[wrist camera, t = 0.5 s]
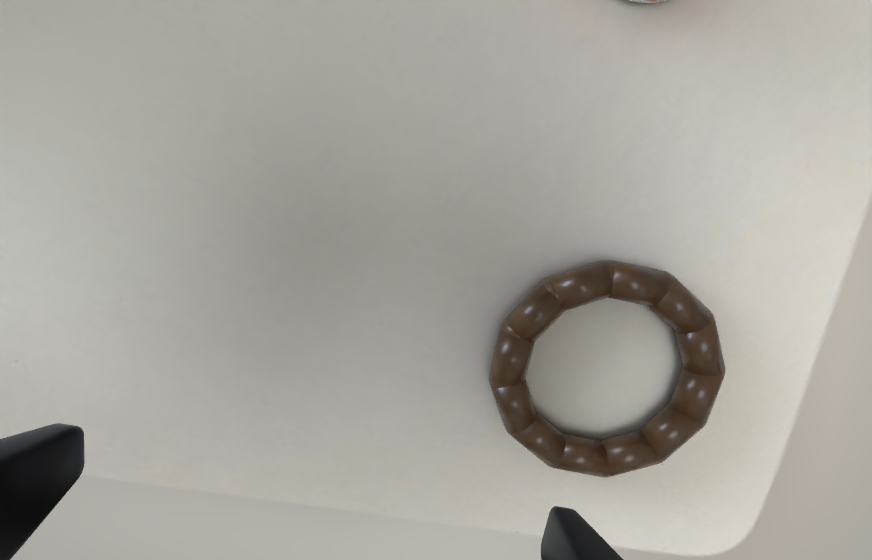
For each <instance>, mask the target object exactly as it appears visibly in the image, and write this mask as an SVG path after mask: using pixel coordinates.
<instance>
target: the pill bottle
mask: <svg viewBox="0 0 872 560" xmlns="http://www.w3.org/2000/svg"><path fill="white" fill-rule="evenodd" d="M629 1H633V2H640V3H656V2H662V1H667V0H629Z"/></svg>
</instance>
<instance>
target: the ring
mask: <svg viewBox="0 0 872 560" xmlns="http://www.w3.org/2000/svg"><path fill="white" fill-rule="evenodd" d="M604 298H613V299H618V300H623V301H628V302H633V303H638V304H643V305H648V306H649V307H650V308H651V309H652V310H653V311H654V312H656V313H657V314H658V315H659V316H660V317H661V318H662V319H663V320H664V321H665V322H666V323H667V324H669V325H670V326H671V327H672V328H673V329H674V330H675V333H676V337H677V342H678V346H679V350H680V354H681V359H682V363H683V368H682V370H681V373H680V376H679V379H678V382H677V385H676V387H675V390H674V393H673V396H672V399H671V402H670V403H669V404H668V405H667V406H666V407H664V408H663V409H662V410H661V411H660V412H659V413H658V414H657V415H656V416H654V417H653V418H652V419H651V420H650V421H649V422H648V423H647V424H645V425H644V426H643V427H642V428H641V429H640V430H637V431H633V432H630V433H626V434H623V435H619V436H616V437H612V438H608V439H605V440H601V441H598V440H593V439H587V438H582V437H577V436H572V435H566V434H562V433H561V432H560V431H558V430H557V429H556V428H555V427H554V426H552V425H551V424H550V423H549V422H548V421H546V420H545V419H544V418H543V417H542V416H540V415H539V414H538V413H537V412H536V411H535V408H534V405H533V402H532V399H531V396H530V393H529V390H528V387H527V384H526V380H525V376H526V373H527V369H528V365H529V361H530V357H531V354H532V350H533V346H534V342H535V341H536V340H537V339H538V338H539V337H540V336H541V335H542V334H543V333H544V332H545V331H546V330H547V329H548V328H549V327H550V326H551V325H552V324H553V323H554V321H555V320H556V319H557V318H558V317H559V316H560V315H561V314H562V313H563V312H564V311H566V310H569V309H572V308H576V307H579V306H582V305H585V304H588V303H592V302H595V301H598V300H601V299H604ZM724 375H725V364H724V360H723V355H722V350H721V346H720V341H719V336H718V332H717V327H716V322H715V318H714V316H713V314H712V313H711V311H710V310H709V309H708V308H707V307H705V306H704V305H703V304H702V303H701V302H700V301H699V300H698V299H697V298H696V297H695V296H694V295H693V294H692V293H691V292H690V291H689V290H687V289H686V288H685V287H684V286H683V285H682V284H681V283H680V282H679V281H678V280H677V279H676V278H675V277H674V276H672V275H671V274H670V273H668V272H666V271H662V270H657V269H652V268H647V267H642V266H637V265H632V264H626V263H621V262H616V261H611V260H602V261H598V262H595V263H592V264H589V265H586V266H583V267H580V268H577V269H573V270H570V271H567V272H564V273H561V274H558V275H555V276H552V277H549V278H546V279H544V280H543V281H542V282H541V283H540V284H539V285H538V286H537V287H536V288H535V289H534V290H533V291H532V292H531V293H530V294H529V295H528V296H527V297H526V298H525V299H524V300H523V301H522V302H521V303H520V304H519V306H518V307H517V308H516V309H515V310H514V311H513V312H512V313H511V314H510V315H509V316H508V317H507V318H506V319H505V320H504V322H503V323H502V325H501V328H500V332H499V336H498V341H497V345H496V349H495V353H494V357H493V361H492V365H491V370H490V374H489V382H490V385H491V388H492V391H493V394H494V397H495V400H496V403H497V406H498V409H499V412H500V414H501V417H502V420H503V423H504V426H505V428H506V430H507V432H508V433H509V434H510V435H511V436H512V437H513V438H515V439H516V440H517V441H518V442H520V443H521V444H522V445H523V446H525V447H526V448H527V449H528V450H529V451H531V452H532V453H533V454H534V455H536V456H537V457H538V458H539V459H540V460H542V461H543V462H544V463H545V464H547V465H548V466H550V467H552V468H557V469H562V470H567V471H573V472H578V473H583V474H588V475H594V476H599V477H611V476H615V475H619V474H622V473H626V472H630V471H633V470H637V469H641V468H644V467H648V466H652V465H655V464H659V463H662V462H663V461H665V460H666V459H667V458H668V457H669V456H670V455H672V454H673V453H674V452H675V451H676V450H677V449H678V448H680V447H681V446H682V445H683V444H684V443H685V442H687V441H688V440H689V439H690V438H691V437H692V436H693V435H695V434H696V433H697V432H698V431H699V430H700V429H702V428H703V427H704V426H705V424H706V423H707V420H708V418H709V415H710V412H711V410H712V407H713V404H714V402H715V399H716V397H717V394H718V391H719V389H720V386H721V383H722V381H723V378H724Z"/></svg>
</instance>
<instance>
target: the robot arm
mask: <svg viewBox="0 0 872 560" xmlns="http://www.w3.org/2000/svg"><path fill="white" fill-rule="evenodd" d="M83 468H84V432H83V430H82V429H81V428H80V427H78V426H73V425H67V424H60V423H59V424H52V425H49V426H45V427H42V428H38V429H35V430H31V431H28V432H24V433H21V434H17V435H14V436H10V437H7V438H3V439H0V560H10V559H11V558H12V557H13V555H14V554H15V553H16V552H17V551H18V550H19V549H20V548H21V546H22V545H23V544H24V543H25V542H26V541H27V539H28V538H29V537H30V536H31V535H32V533H33V532H34V531H35V530H36V529H37V527H38V526H39V525H40V524H41V523H42V521H43V520H44V519H45V518H46V517H47V515H48V514H49V513H50V512H51V511H52V509H53V508H54V507H55V506H56V505H57V503H58V502H59V501H60V500H61V499H62V497H63V496H64V495H65V494H66V493H67V491H68V490H69V489H70V488H71V487H72V485H73V484H74V483H75V482H76V480H77V479H78V478H79V477H80V475H81V473H82V471H83ZM541 559H542V560H623V559H622V558H621V557H620V556H619V555H618V554H617V553H616V552H615V551H614V550H613V549H612V548H611V547H610V546H609V545H608V544H607V542H606V541H605V540H604V539H603V538H602V537H601V536H600V535H599V534H598V533H597V532H596V531H595V530H594V529H593V528H592V527H591V526H590V525H589V524H588V523H587V522H586V521H585V520H584V519H583V518H582V517H581V516H580V515H579V514H578V513H577V512H576V511H575V510H573V509H569V508H563V507H557V506H555V507H553V508H552V509H551V511H550V513H549V517H548V520H547V524H546V528H545V531H544V535H543V539H542V544H541Z"/></svg>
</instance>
